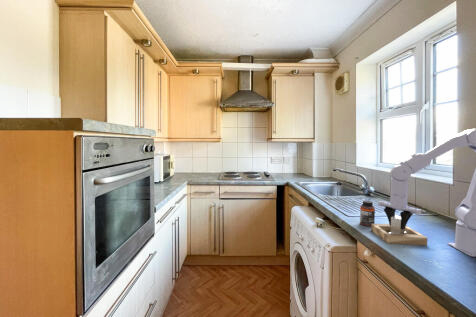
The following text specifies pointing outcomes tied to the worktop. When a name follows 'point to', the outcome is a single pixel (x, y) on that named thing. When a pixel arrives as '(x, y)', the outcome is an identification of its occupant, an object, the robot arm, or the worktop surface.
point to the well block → (399, 235)
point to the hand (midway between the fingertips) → (397, 227)
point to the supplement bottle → (367, 213)
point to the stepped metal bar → (396, 225)
